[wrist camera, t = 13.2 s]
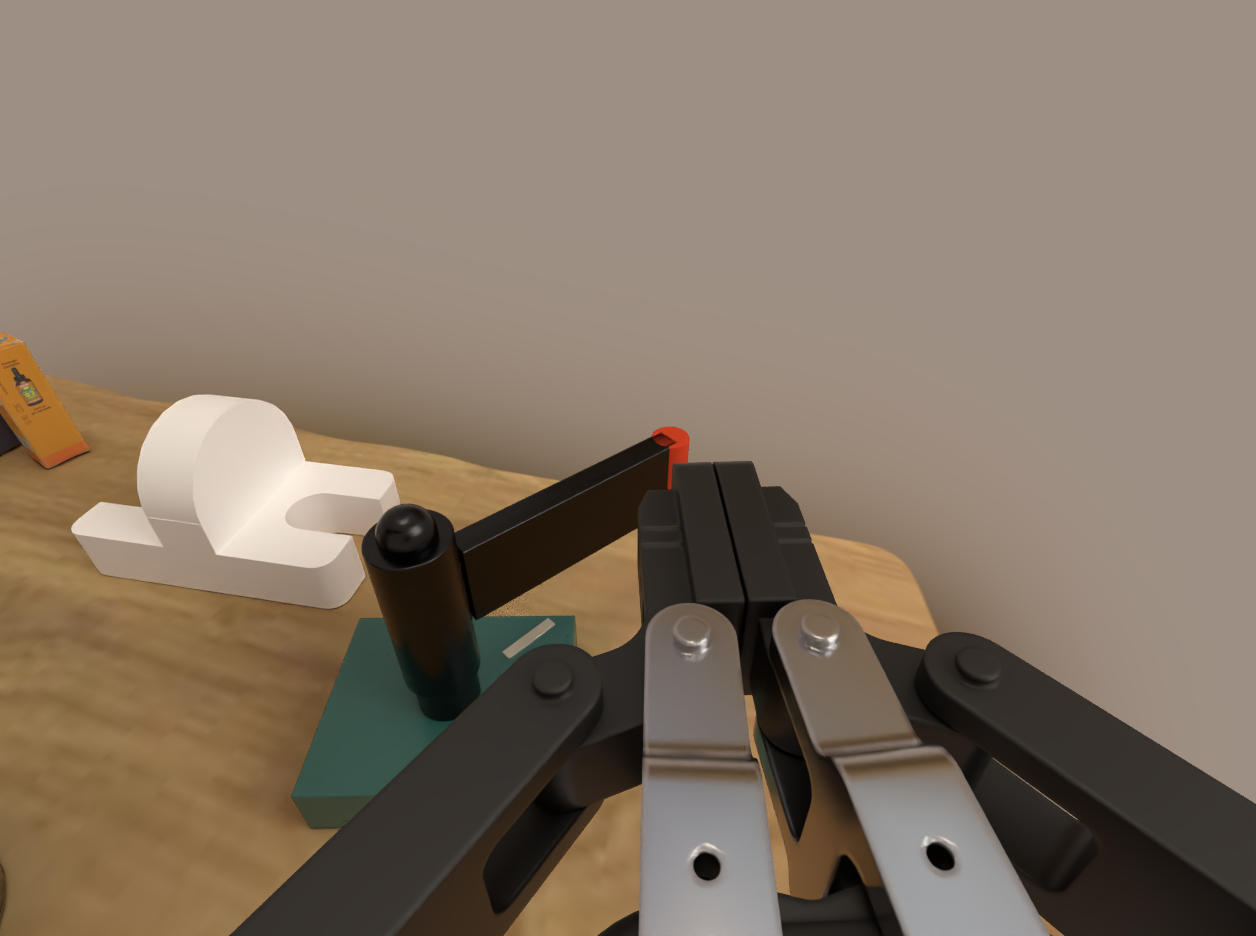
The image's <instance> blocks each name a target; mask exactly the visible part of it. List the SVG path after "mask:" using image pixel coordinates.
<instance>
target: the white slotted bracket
mask: <svg viewBox="0 0 1256 936" xmlns="http://www.w3.org/2000/svg"><path fill="white" fill-rule="evenodd" d="M137 491H138V495H139V499H140V502H141V506H142V508H141V507H134V506H127V505H119V504H112V503H105V502H99V503H98V504H97V505H96V506H94V507H93V508H92V509H90V510H89V511H88V512H87V513H85V514H84V515H83V516H82V517H80V518H79V519H78V520H77V521H76V522H75V523H74V524H73V525H72V528H71V530H72V532H73V534H74V535H75V537H76V538H77V540H78V541H79V543H80V544H81V546H82V547H83V549H84V550H85V552H86V553H87V555H88V556H89V558H90V559H91V560H92V562H93V563H94V565H95V566H96V568H97V569H98V571H99V572H100V573H101V574H103V575H108V576H114V577H121V578H127V579H134V580H140V581H147V582H153V583H160V584H166V585H173V586H179V587H186V588H192V589H199V590H205V591H212V592H219V593H225V594H232V595H238V596H245V597H251V598H258V599H264V600H271V601H277V602H284V603H290V604H297V605H303V606H310V607H316V608H323V609H332V608H336V607H339V606H341V605H343V604H345V603H346V602H348V601H349V600H350V599H351V597H352V596H353V595H354V593H355V592H356V590H357V589H358V587H359V586H360V584H361V583H362V581H363V580H364V578H365V577H366V576H365V573H364V570H363V567H362V564H361V561H360V558H359V555H358V552H357V549H356V546H355V543H354V540H353V537H352V536H347V535H340V534H333V533H348V534H356V535H363V536H365V535H366V533H367V532H368V531H369V529H370V528H371V527H372V526H373V525H374V524H376V523H377V522H378V521H379V519H380V517H381V516H382V515H383V514H384V513H385V512H386V511H387V510H389V509H390V508H392V507H394V506H397V505H400V504H401V503H400V500H399V496H398V492H397V488H396V484H395V481H394V477H393V475H392V474H391V473H390V472H387V471H382V470H374V469H365V468H357V467H349V466H340V465H332V464H324V463H315V462H307V461H305V458H304V455H303V452H302V450H301V447H300V444H299V441H298V439H297V436H296V434H295V431H294V429H293V426H292V424H291V423H290V421H289V420H288V418H287V417H286V416H285V414H284V413H283V412H282V411H280V410H279V409H278V408H277V407H276V406H274V405H273V404H270V403H267V402H265V401H261V400H255V399H245V398H236V397H227V396H218V395H193V396H191V397H188V398H185V399H182V400H180V401H178V402H176V403H175V404H173V405H172V406H171V407H169V408H168V409H167V410H165V411H164V412H163V413H162V414H161V416H160V417H159V418H158V419H157V421H156V422H155V423H154V424H153V426H152V427H151V428H150V431H149V433H148V435H147V437H146V439H145V441H144V443H143V445H142V448H141V453H140V457H139V462H138V466H137Z"/></svg>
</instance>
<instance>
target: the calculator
mask: <svg viewBox="0 0 1256 936" xmlns="http://www.w3.org/2000/svg"><path fill="white" fill-rule="evenodd" d="M20 443H21V442H20V441H19V439H18V438H17V436H16V435H15V434H14V432H13V431H12V429H11V428H10V427H9V425H8V424H7V422H6V421H5V420H4V418H3V417H2V415H1V414H0V455H1V454H2V453H4V452H6V451H8V450H10V449H11V448H13V447H15V446H17V445H19V444H20Z"/></svg>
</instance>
